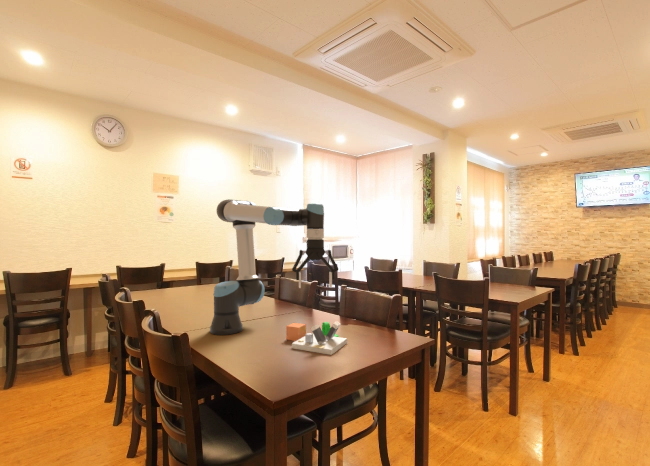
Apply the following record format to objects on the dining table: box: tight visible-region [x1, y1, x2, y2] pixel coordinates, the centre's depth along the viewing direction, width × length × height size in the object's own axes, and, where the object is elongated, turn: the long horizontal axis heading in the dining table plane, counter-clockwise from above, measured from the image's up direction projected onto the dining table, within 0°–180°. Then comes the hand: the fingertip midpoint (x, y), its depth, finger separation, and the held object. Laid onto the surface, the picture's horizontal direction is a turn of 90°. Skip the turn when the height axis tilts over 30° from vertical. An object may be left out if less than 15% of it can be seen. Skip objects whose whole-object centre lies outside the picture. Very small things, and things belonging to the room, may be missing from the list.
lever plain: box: [326, 320, 341, 340], centre depth 144 cm, size 2×4×8 cm, turn 154°
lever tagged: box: [310, 322, 326, 345], centre depth 139 cm, size 2×4×8 cm, turn 154°
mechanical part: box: [321, 321, 340, 337], centre depth 156 cm, size 12×6×8 cm, turn 21°
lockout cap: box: [285, 322, 307, 342], centre depth 153 cm, size 6×6×6 cm
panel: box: [291, 332, 348, 356], centre depth 143 cm, size 18×17×2 cm
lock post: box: [305, 332, 313, 344], centre depth 141 cm, size 2×2×4 cm
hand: (315, 287), depth 149 cm, fingers open, 13 cm apart
